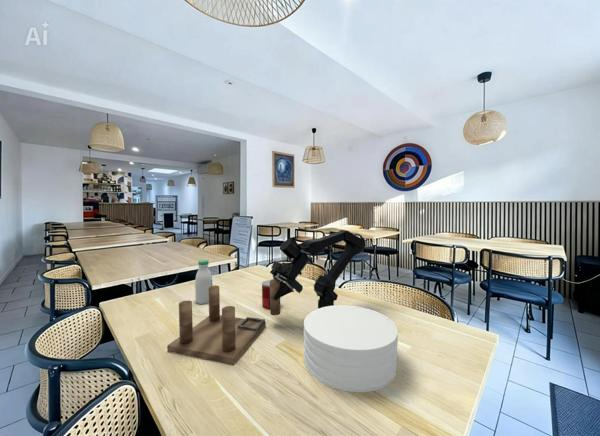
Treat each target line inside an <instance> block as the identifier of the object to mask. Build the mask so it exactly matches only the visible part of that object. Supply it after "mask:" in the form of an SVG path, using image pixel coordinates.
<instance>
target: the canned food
mask: <svg viewBox="0 0 600 436" xmlns="http://www.w3.org/2000/svg"><path fill="white" fill-rule="evenodd" d="M270 280H271V279H269V280H265V281H262V283H261V303H262V304H261V306H262V307H263V308H264V309H266V310H270V296H269V293H270Z"/></svg>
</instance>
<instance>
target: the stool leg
mask: <svg viewBox="0 0 600 436" xmlns="http://www.w3.org/2000/svg"><path fill="white" fill-rule="evenodd" d="M269 280H270V309H269V313H270V315H271V316H279V315H281V298H279V299H277V300H274V299H273V298H274V296H275V294H276V293H277V291H278V290H279V288H280V280H279V279H273V278H272V279H269Z"/></svg>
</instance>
